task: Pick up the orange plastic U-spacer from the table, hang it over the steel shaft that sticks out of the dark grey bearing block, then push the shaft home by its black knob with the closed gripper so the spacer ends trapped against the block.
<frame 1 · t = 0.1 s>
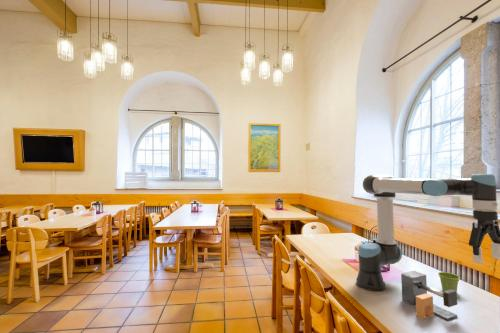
hand: (487, 260, 103), 28 cm above the table, tool pointing down, fingers open, 13 cm apart
plant pot: (449, 291, 134), on the table
shaft: (434, 291, 115), point 9 cm above the table, slide at 9.0 cm
bearing block: (414, 301, 124), on the table
spacer: (424, 316, 111), on the table
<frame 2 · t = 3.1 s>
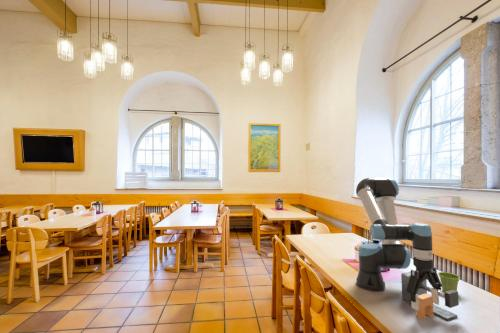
hand: (425, 306, 110), 5 cm above the table, tool pointing down, fingers open, 13 cm apart
shaft: (436, 292, 115), point 9 cm above the table, slide at 9.5 cm, touching gripper
everything else where it was.
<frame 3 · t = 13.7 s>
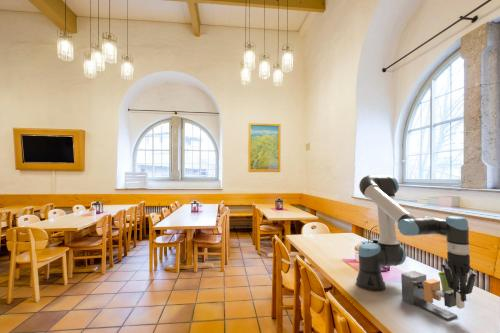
hand: (460, 307, 106), 7 cm above the table, tool pointing down, fingers closed
shaft: (435, 291, 115), point 9 cm above the table, slide at 9.3 cm, touching gripper, spacer
spacer: (432, 300, 116), point 4 cm above the table, touching shaft
everything else where it was.
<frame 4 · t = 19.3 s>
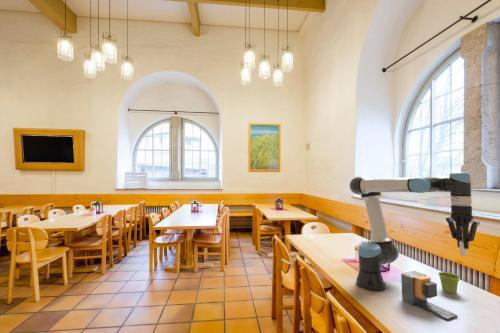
hand: (463, 255, 115), 26 cm above the table, tool pointing down, fingers closed
shaft: (417, 284, 123), point 9 cm above the table, slide at 0.6 cm, touching spacer
spacer: (423, 296, 120), point 4 cm above the table, touching bearing block, shaft
everything else where it was.
at the end: shaft slide at 0.6 cm; spacer 0.8 cm from the target spot, point 4.5 cm above the table; spacer tilted 2° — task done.
